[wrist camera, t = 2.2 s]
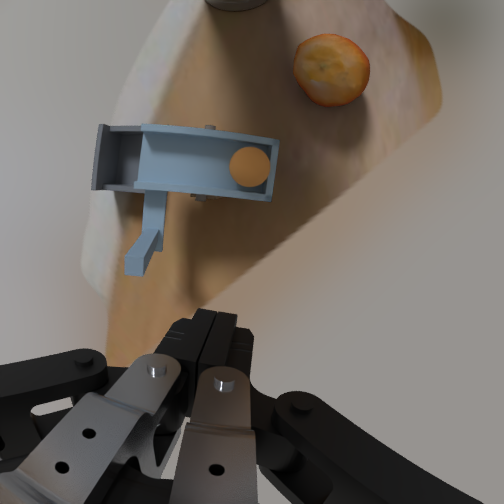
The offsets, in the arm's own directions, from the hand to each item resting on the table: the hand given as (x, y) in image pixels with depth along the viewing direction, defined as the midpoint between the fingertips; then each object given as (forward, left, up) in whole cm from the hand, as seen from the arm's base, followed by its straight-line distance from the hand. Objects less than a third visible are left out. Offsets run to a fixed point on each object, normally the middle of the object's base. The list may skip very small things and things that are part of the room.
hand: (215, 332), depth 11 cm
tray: (-7, -14, -23) cm, 28 cm away
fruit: (-19, +6, -23) cm, 30 cm away
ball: (-7, -1, -16) cm, 17 cm away
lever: (-4, -5, -17) cm, 18 cm away
